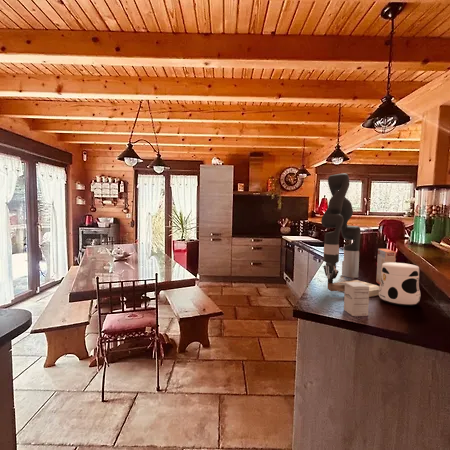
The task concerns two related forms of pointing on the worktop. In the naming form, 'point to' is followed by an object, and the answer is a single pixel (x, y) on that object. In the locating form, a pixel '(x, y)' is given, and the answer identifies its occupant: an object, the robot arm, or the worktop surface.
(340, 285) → the walnut leg
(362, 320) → the worktop surface
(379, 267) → the cracker box
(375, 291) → the seat panel
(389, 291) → the milk container
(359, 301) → the supplement box
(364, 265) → the worktop surface
